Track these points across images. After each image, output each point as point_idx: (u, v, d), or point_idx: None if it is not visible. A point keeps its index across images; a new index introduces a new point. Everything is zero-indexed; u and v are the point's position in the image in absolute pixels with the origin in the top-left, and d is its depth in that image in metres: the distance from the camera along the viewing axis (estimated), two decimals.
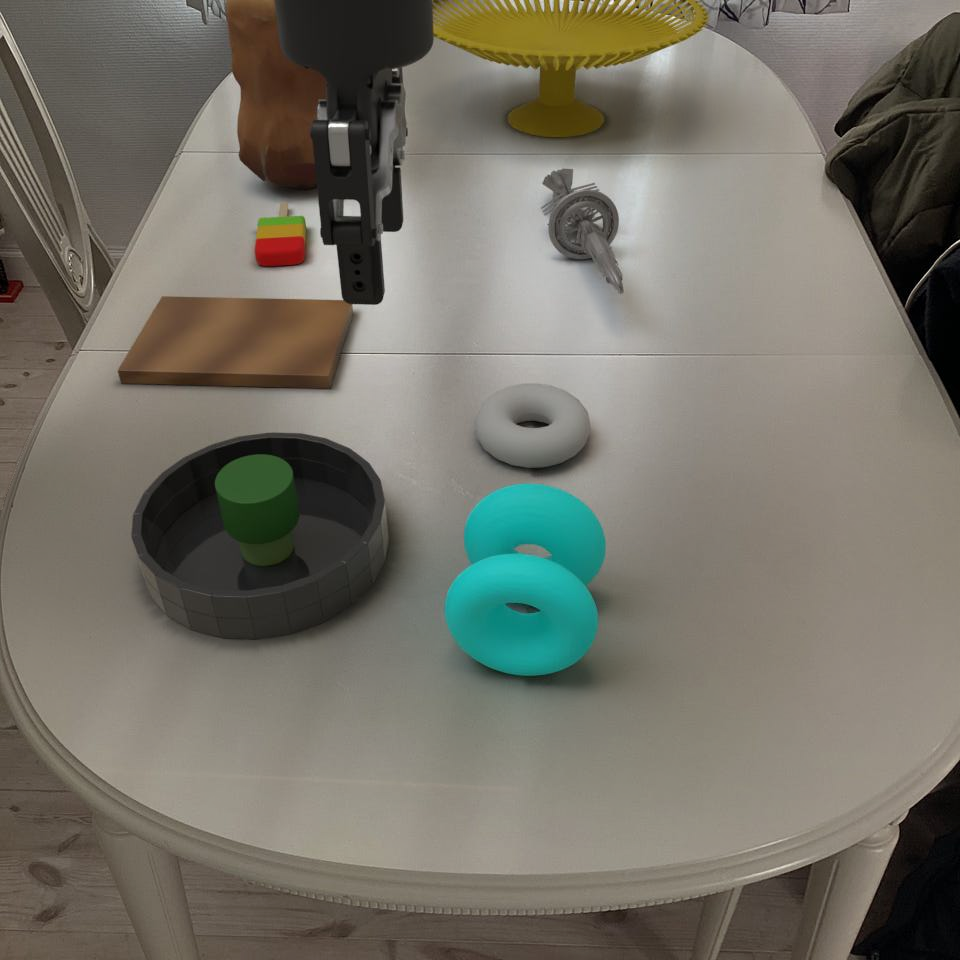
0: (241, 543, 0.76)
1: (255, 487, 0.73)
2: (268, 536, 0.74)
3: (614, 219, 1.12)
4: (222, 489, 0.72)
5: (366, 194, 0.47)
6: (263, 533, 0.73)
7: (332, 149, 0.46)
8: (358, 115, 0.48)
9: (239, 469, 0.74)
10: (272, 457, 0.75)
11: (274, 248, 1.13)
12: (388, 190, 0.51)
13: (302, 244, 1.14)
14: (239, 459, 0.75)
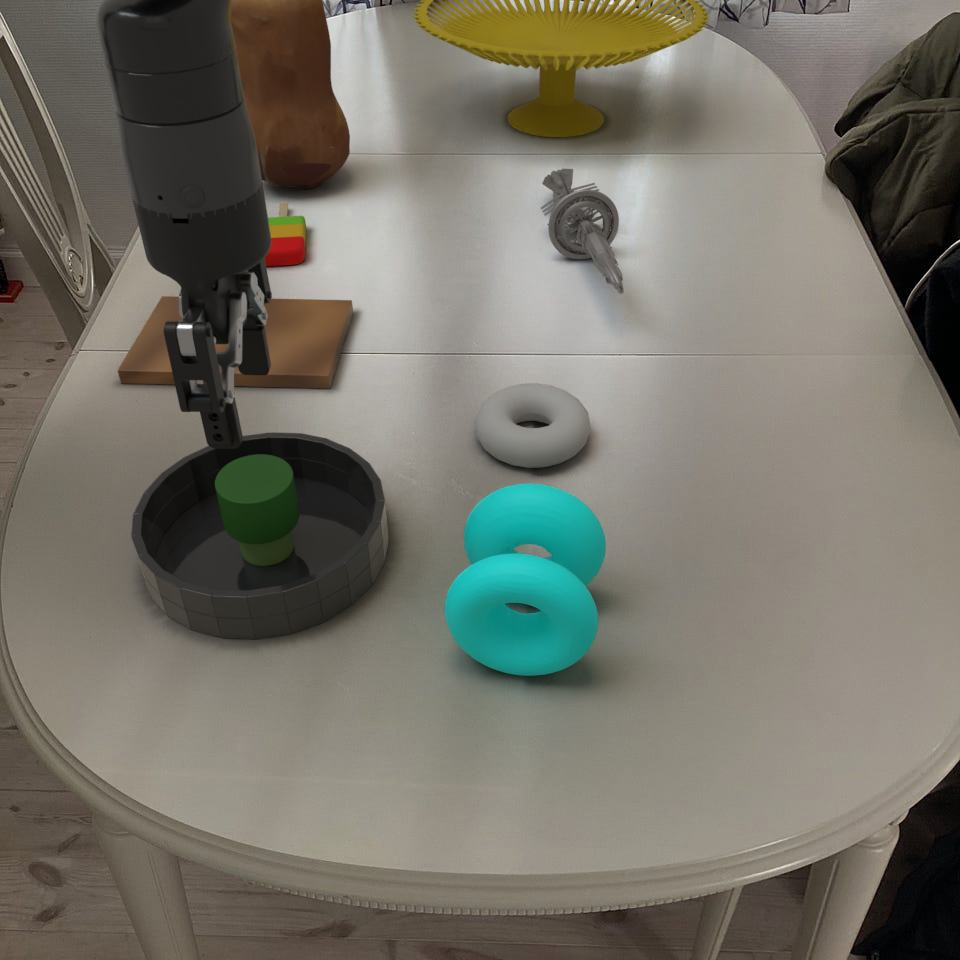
0: (241, 543, 0.76)
1: (255, 487, 0.73)
2: (268, 536, 0.74)
3: (614, 219, 1.12)
4: (222, 489, 0.72)
5: (211, 376, 0.59)
6: (263, 533, 0.73)
7: (181, 344, 0.58)
8: (206, 312, 0.60)
9: (239, 469, 0.74)
10: (272, 457, 0.75)
11: (274, 248, 1.13)
12: (238, 363, 0.63)
13: (302, 244, 1.14)
14: (239, 459, 0.75)
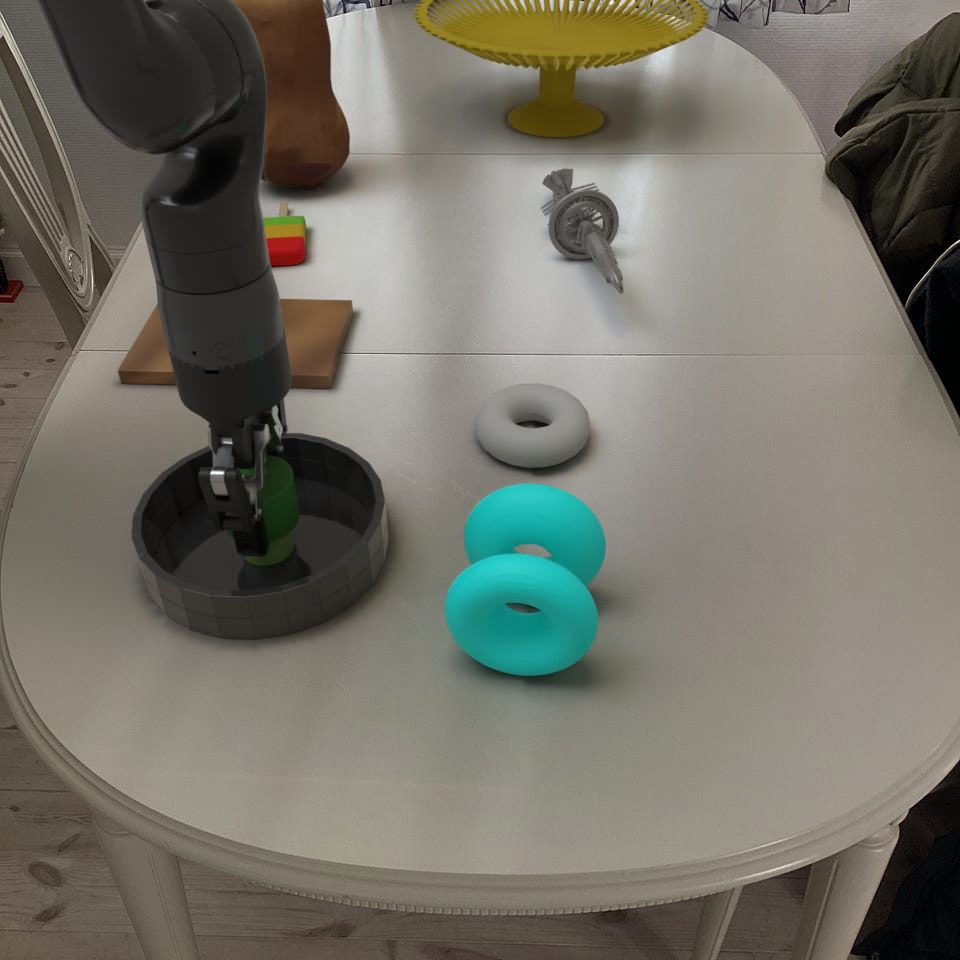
0: None
1: None
2: (268, 536, 0.74)
3: (614, 219, 1.12)
4: None
5: (242, 509, 0.67)
6: None
7: (214, 488, 0.65)
8: (233, 447, 0.66)
9: None
10: (272, 457, 0.75)
11: (274, 248, 1.13)
12: None
13: (302, 244, 1.14)
14: None
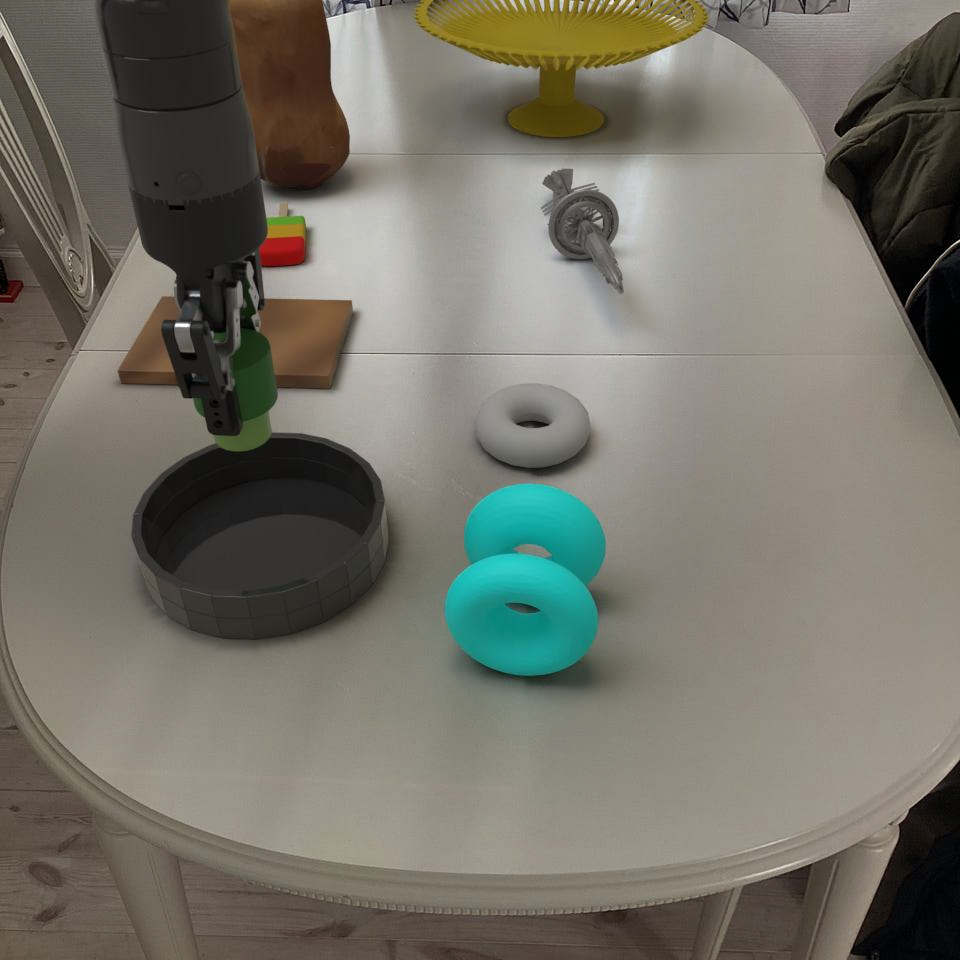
0: None
1: None
2: (242, 414, 0.67)
3: (614, 219, 1.12)
4: None
5: (211, 371, 0.60)
6: None
7: (180, 344, 0.59)
8: (201, 300, 0.60)
9: None
10: (248, 330, 0.69)
11: (274, 248, 1.13)
12: (237, 351, 0.64)
13: (302, 244, 1.14)
14: None
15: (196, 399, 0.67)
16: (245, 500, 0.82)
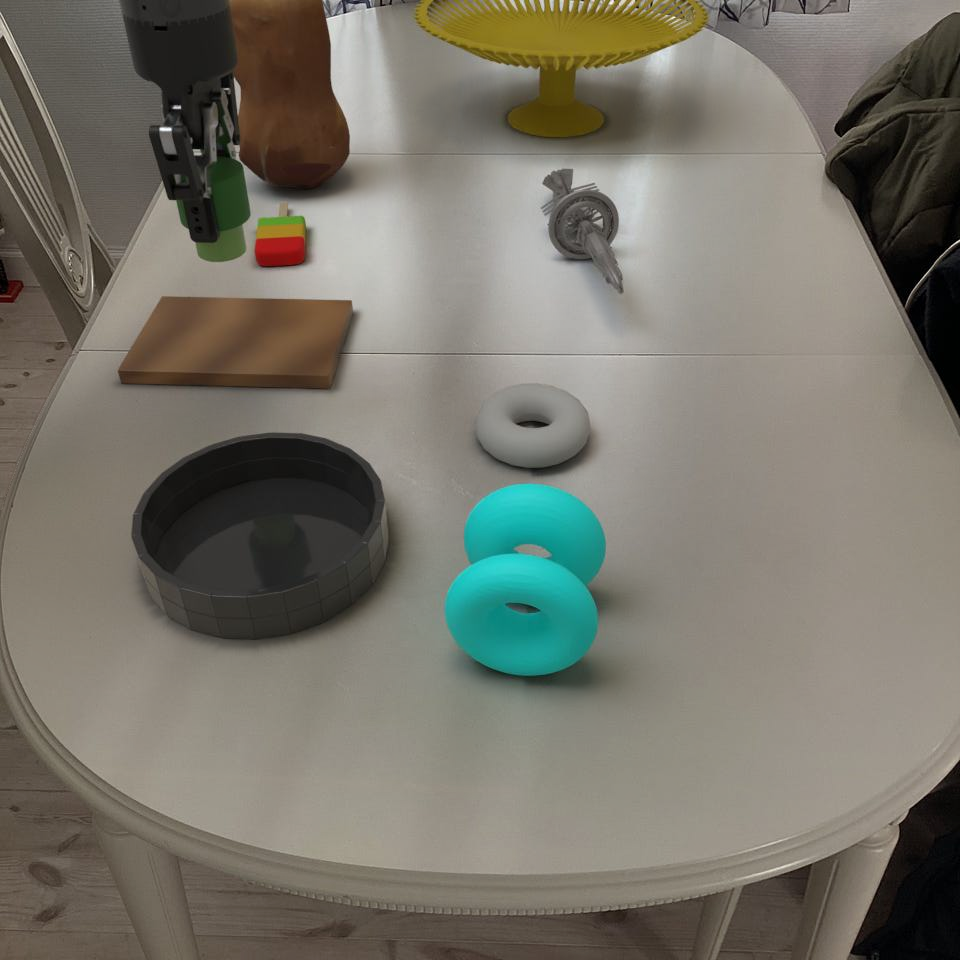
0: None
1: None
2: (219, 224, 0.80)
3: (614, 219, 1.12)
4: None
5: (190, 171, 0.73)
6: None
7: (164, 145, 0.72)
8: (182, 112, 0.73)
9: None
10: (225, 158, 0.82)
11: (274, 248, 1.13)
12: (213, 164, 0.77)
13: (302, 244, 1.14)
14: None
15: (181, 212, 0.80)
16: (245, 500, 0.82)
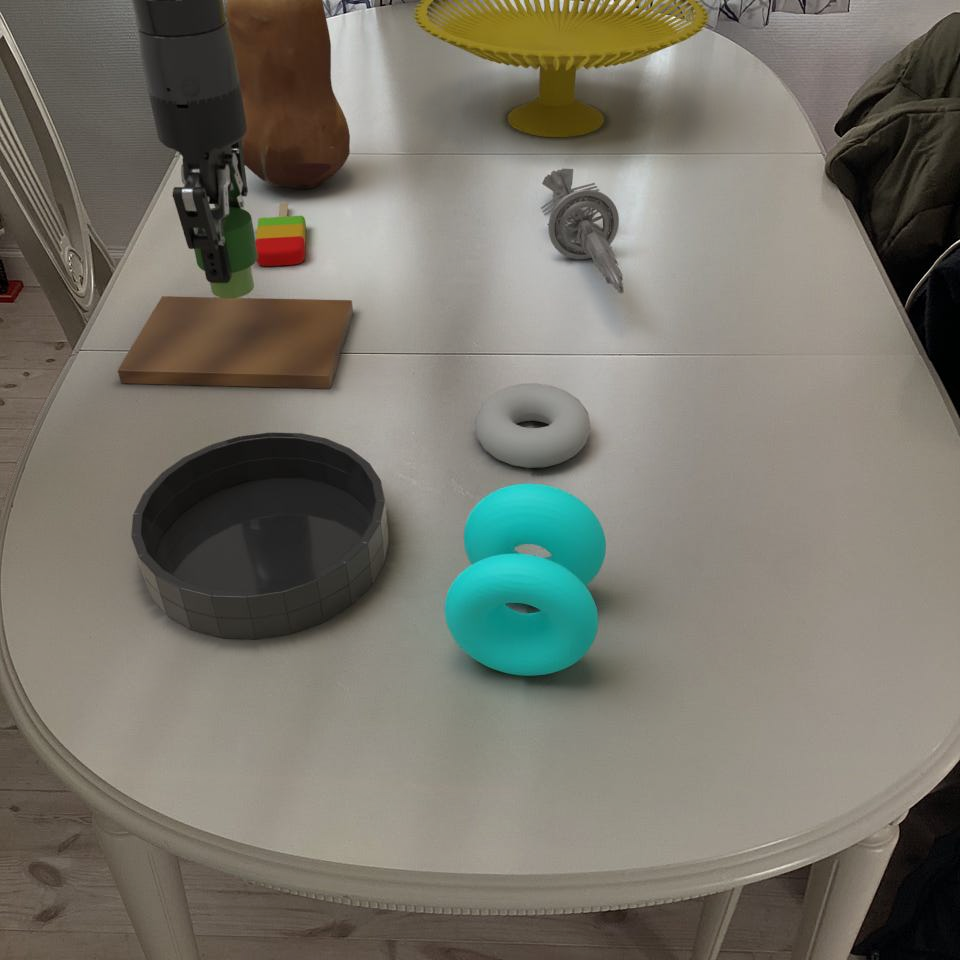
0: None
1: None
2: (231, 266, 0.92)
3: (614, 219, 1.12)
4: None
5: (208, 225, 0.86)
6: None
7: (185, 204, 0.84)
8: (200, 175, 0.85)
9: None
10: (235, 208, 0.94)
11: (274, 248, 1.13)
12: (226, 216, 0.89)
13: (302, 244, 1.14)
14: None
15: (198, 256, 0.93)
16: (245, 500, 0.82)
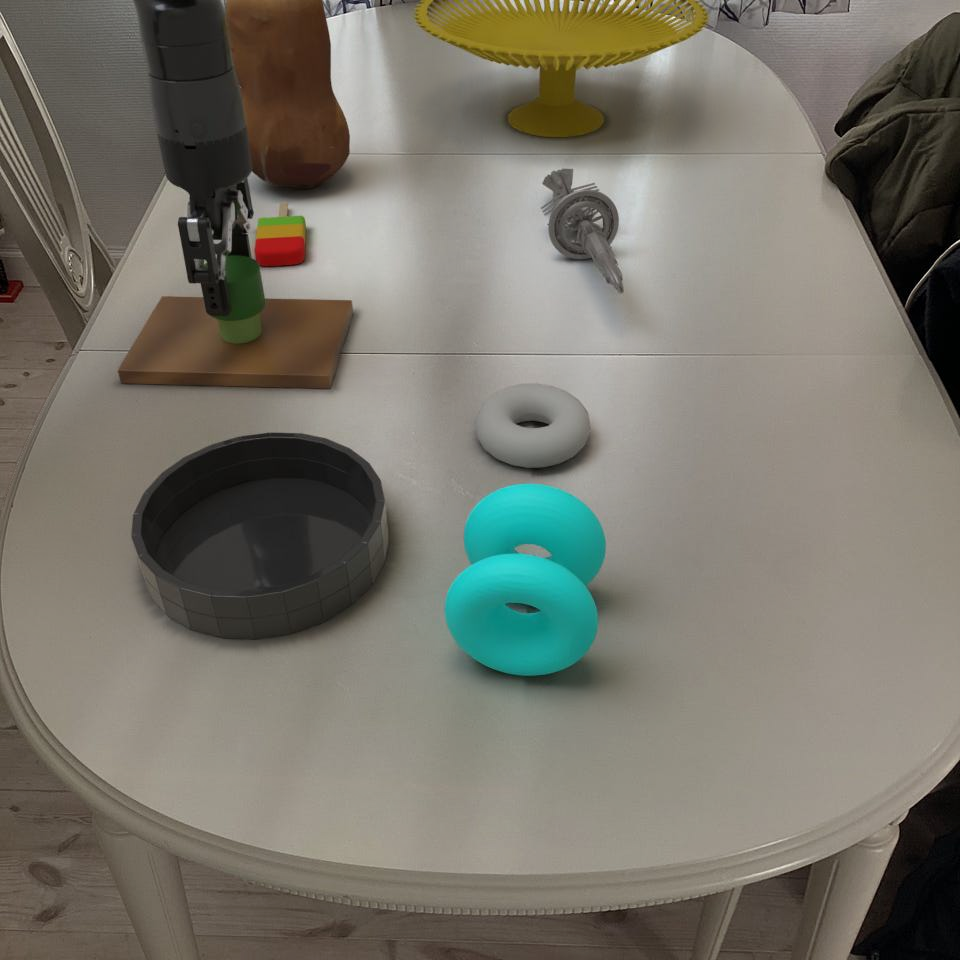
0: (220, 324, 0.98)
1: (230, 274, 0.95)
2: (240, 314, 0.96)
3: (614, 219, 1.12)
4: None
5: (210, 256, 0.87)
6: (236, 311, 0.95)
7: (189, 233, 0.86)
8: (206, 213, 0.87)
9: None
10: (244, 257, 0.97)
11: (274, 248, 1.13)
12: (228, 252, 0.90)
13: (302, 244, 1.14)
14: None
15: None
16: (245, 500, 0.82)
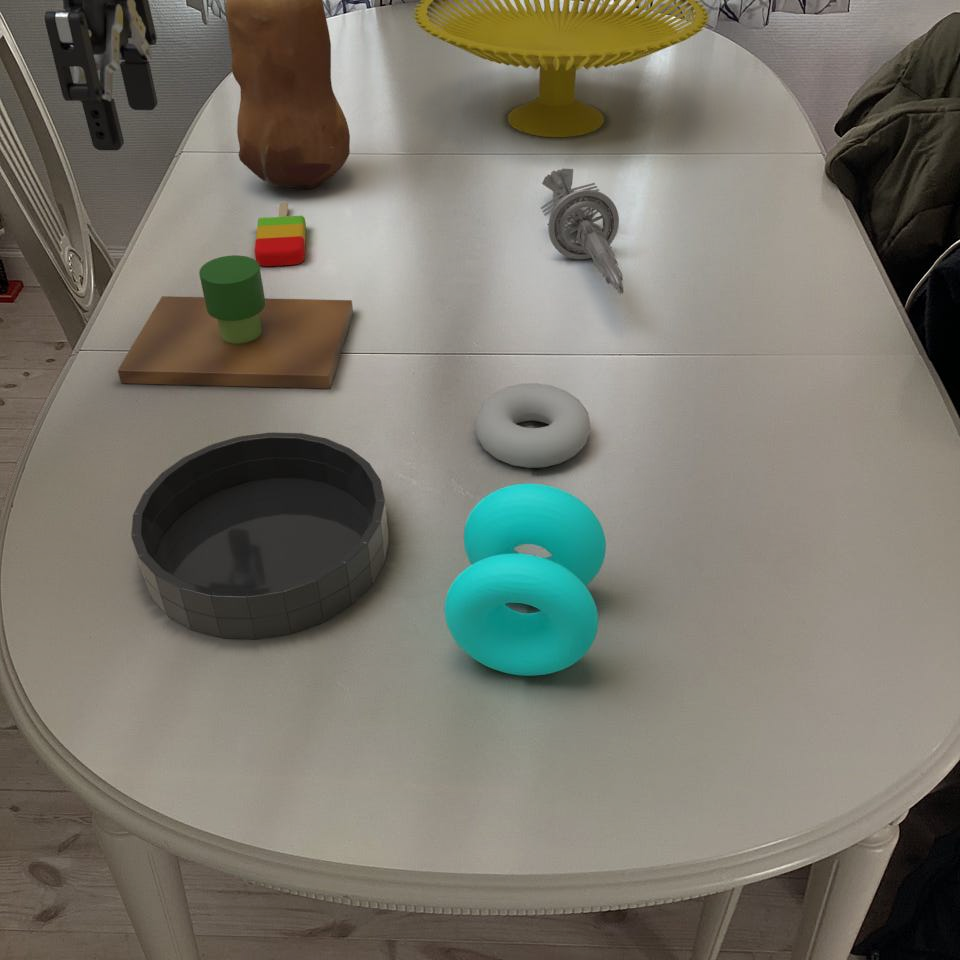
0: (220, 324, 0.98)
1: (230, 274, 0.95)
2: (240, 314, 0.96)
3: (614, 219, 1.12)
4: (205, 275, 0.95)
5: (86, 62, 0.71)
6: (236, 311, 0.95)
7: (59, 30, 0.70)
8: (83, 10, 0.72)
9: (218, 264, 0.96)
10: (244, 257, 0.97)
11: (274, 248, 1.13)
12: (115, 66, 0.75)
13: (302, 244, 1.14)
14: (218, 258, 0.97)
15: (208, 304, 0.96)
16: (245, 500, 0.82)
